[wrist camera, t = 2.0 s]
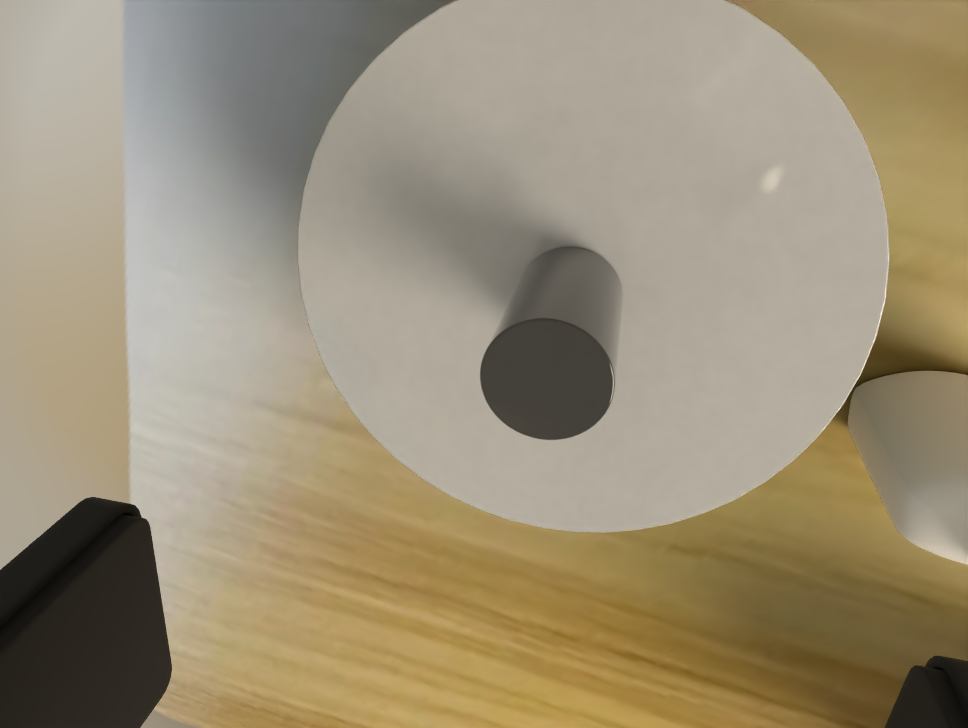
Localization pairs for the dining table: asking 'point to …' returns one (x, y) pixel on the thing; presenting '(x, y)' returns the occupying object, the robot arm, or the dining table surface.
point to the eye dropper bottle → (918, 454)
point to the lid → (593, 256)
